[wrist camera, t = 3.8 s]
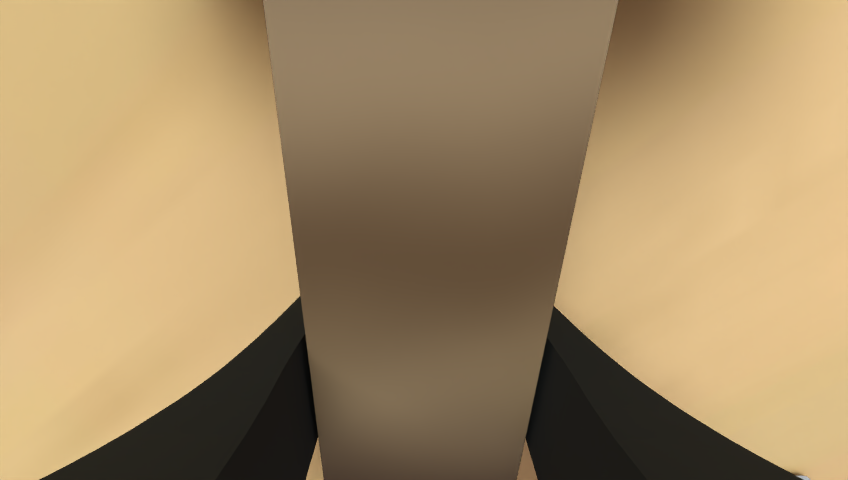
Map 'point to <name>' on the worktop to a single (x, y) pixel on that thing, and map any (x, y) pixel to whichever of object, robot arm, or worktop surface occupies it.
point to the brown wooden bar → (431, 216)
